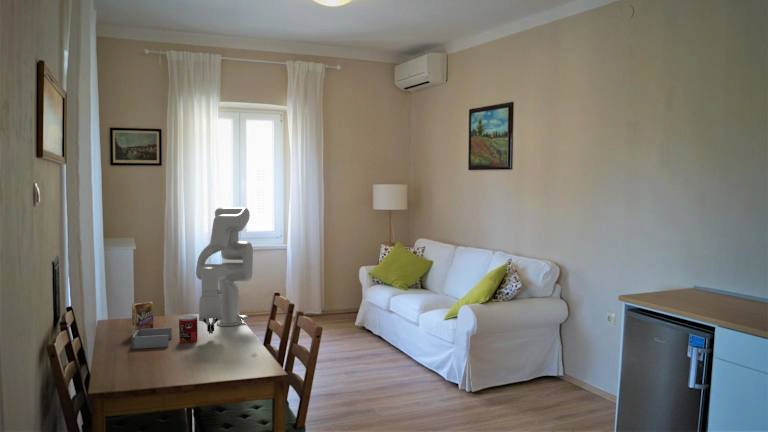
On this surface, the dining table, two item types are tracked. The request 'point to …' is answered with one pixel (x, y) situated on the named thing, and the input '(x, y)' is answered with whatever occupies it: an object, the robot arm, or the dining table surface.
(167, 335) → the box
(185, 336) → the canned food
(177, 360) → the dining table surface
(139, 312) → the candy box
